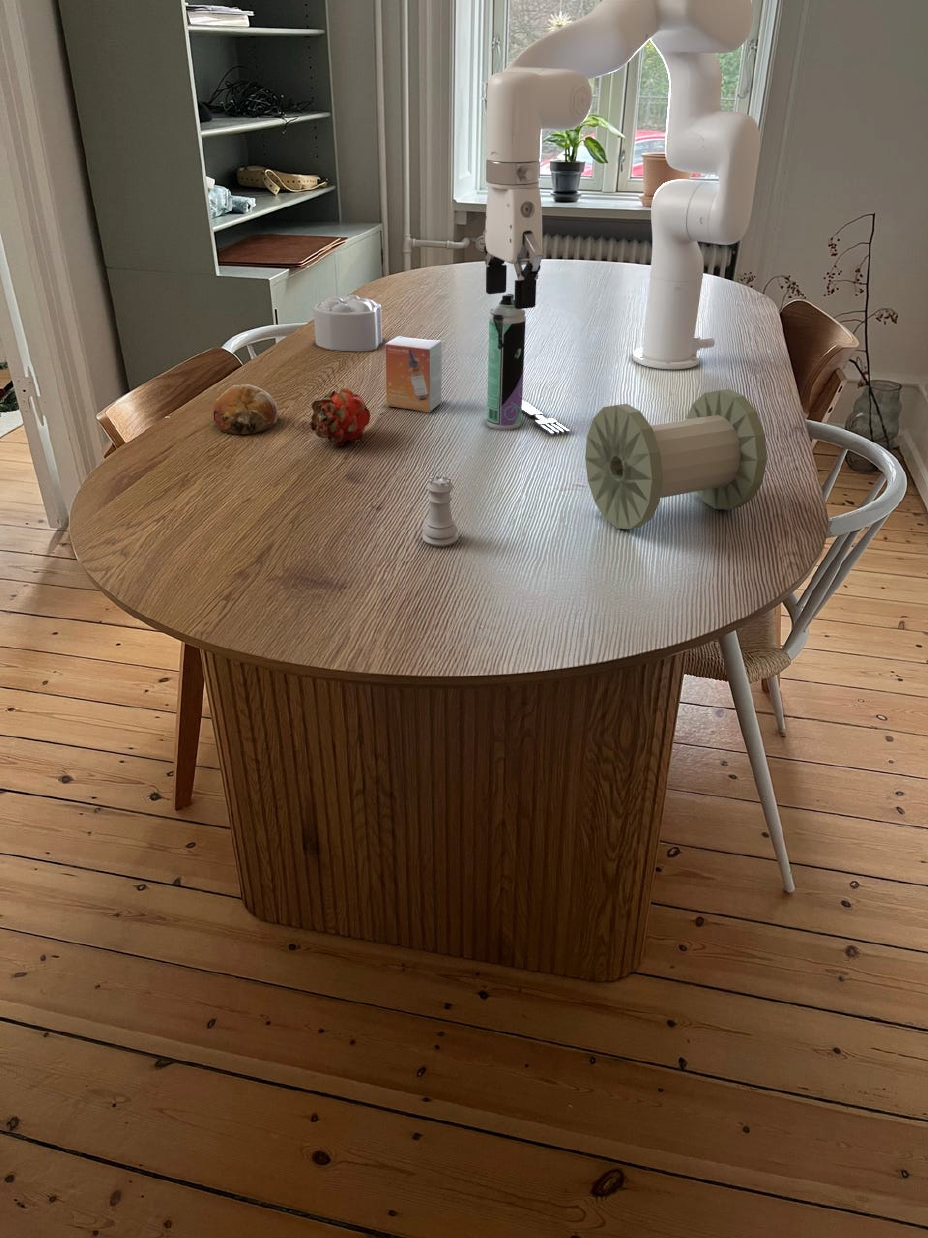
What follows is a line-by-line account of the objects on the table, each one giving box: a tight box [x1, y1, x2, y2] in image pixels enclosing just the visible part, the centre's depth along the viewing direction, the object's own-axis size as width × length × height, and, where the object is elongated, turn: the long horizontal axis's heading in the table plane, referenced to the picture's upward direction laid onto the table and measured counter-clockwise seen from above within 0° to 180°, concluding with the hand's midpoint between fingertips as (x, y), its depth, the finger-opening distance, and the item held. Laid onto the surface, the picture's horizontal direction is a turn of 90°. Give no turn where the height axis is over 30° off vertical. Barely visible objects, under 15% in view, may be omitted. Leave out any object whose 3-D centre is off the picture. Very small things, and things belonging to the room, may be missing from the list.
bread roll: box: [212, 383, 279, 435], centre depth 147 cm, size 10×10×8 cm
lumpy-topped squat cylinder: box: [313, 294, 383, 352], centre depth 186 cm, size 10×13×9 cm
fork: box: [522, 399, 570, 437], centre depth 152 cm, size 17×3×1 cm, turn 24°
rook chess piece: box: [421, 474, 459, 548], centre depth 112 cm, size 4×4×8 cm
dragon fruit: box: [309, 387, 371, 447], centre depth 141 cm, size 8×8×12 cm
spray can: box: [486, 293, 527, 431], centre depth 144 cm, size 6×6×20 cm
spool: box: [584, 388, 768, 530], centre depth 118 cm, size 16×15×15 cm
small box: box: [384, 335, 443, 413], centre depth 154 cm, size 8×6×10 cm
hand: (510, 300), depth 140 cm, fingers open, 9 cm apart
